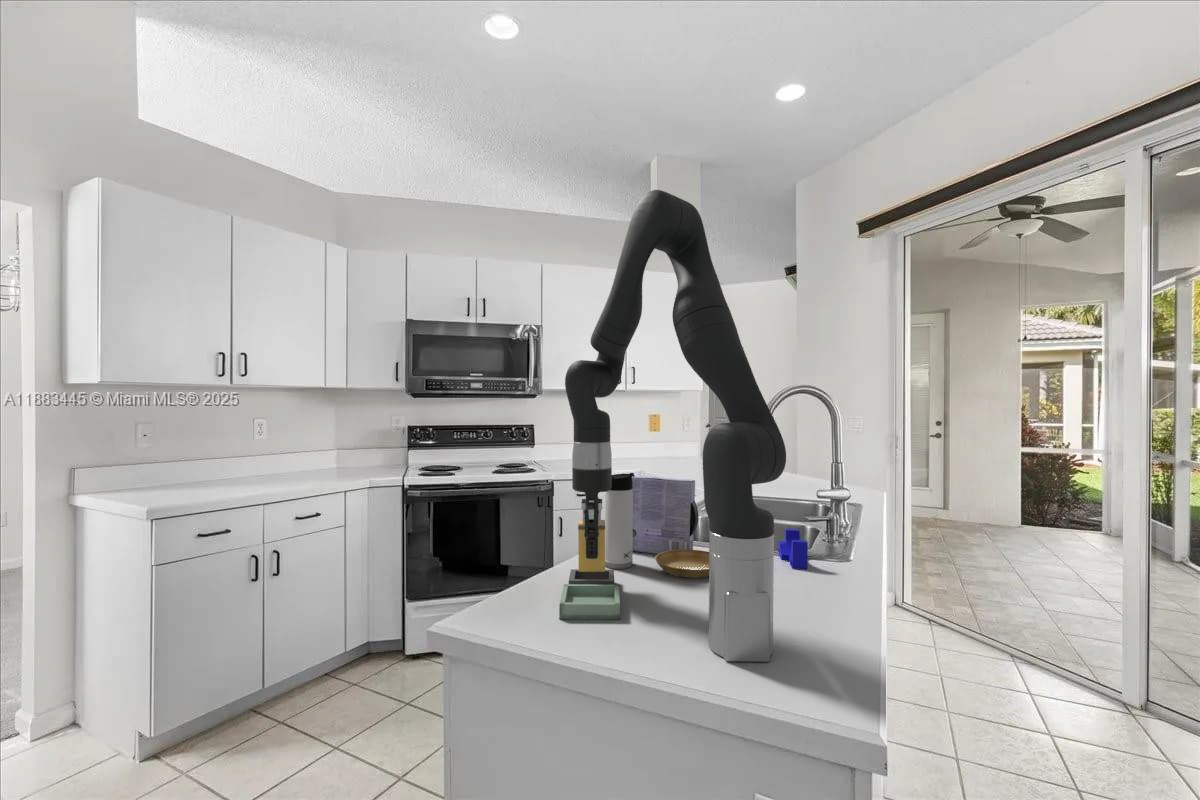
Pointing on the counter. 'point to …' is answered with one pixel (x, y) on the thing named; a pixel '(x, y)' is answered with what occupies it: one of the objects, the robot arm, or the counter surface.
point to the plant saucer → (684, 562)
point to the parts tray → (590, 602)
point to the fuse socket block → (591, 577)
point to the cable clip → (794, 549)
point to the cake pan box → (663, 514)
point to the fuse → (584, 562)
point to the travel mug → (619, 522)
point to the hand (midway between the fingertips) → (592, 554)
